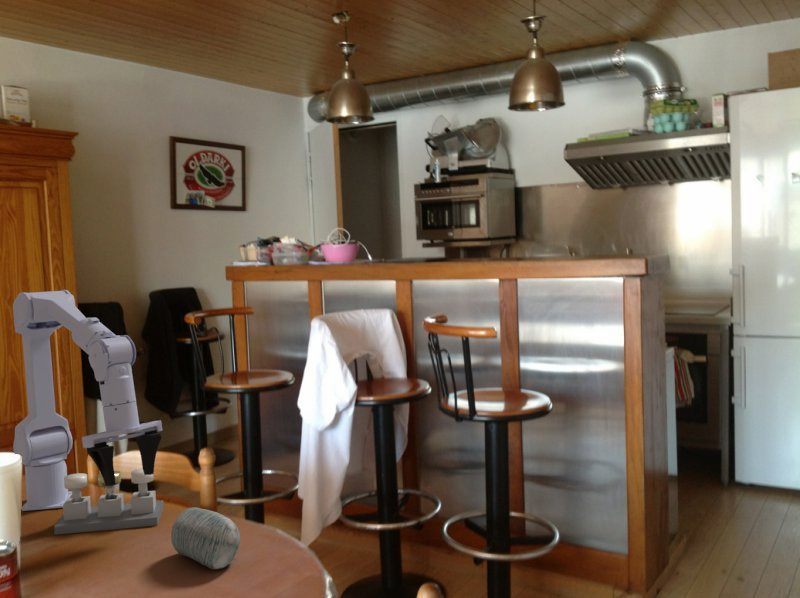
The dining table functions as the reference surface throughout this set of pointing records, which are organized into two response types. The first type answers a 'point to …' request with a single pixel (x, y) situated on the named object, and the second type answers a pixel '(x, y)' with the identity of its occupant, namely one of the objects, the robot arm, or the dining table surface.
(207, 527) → the spool
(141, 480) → the ivory knob
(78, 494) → the ivory knob
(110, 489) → the brass knob
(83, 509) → the mount
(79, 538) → the dining table surface
